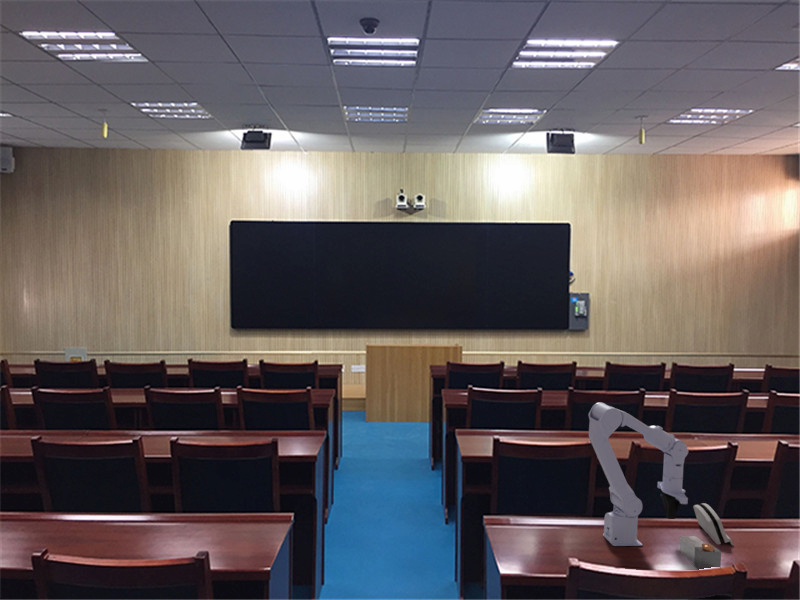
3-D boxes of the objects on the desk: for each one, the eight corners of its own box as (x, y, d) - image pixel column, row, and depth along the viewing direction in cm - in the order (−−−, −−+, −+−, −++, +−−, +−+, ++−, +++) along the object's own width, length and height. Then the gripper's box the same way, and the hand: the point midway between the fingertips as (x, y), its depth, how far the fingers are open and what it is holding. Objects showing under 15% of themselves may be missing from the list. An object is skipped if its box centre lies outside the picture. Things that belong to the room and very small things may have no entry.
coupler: (700, 570, 165) (701, 548, 165) (679, 553, 175) (680, 532, 175) (720, 570, 165) (721, 548, 165) (698, 553, 176) (699, 532, 176)
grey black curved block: (734, 545, 182) (723, 515, 182) (718, 549, 183) (708, 519, 183) (713, 524, 199) (704, 496, 199) (699, 527, 199) (690, 499, 200)
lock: (679, 552, 176) (680, 536, 176) (694, 552, 177) (695, 536, 177) (695, 565, 168) (695, 548, 168) (710, 565, 169) (711, 548, 169)
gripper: (698, 483, 177) (695, 527, 178) (672, 468, 192) (670, 509, 192) (675, 483, 177) (673, 527, 177) (652, 468, 191) (650, 509, 192)
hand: (670, 518), depth 185 cm, fingers closed
